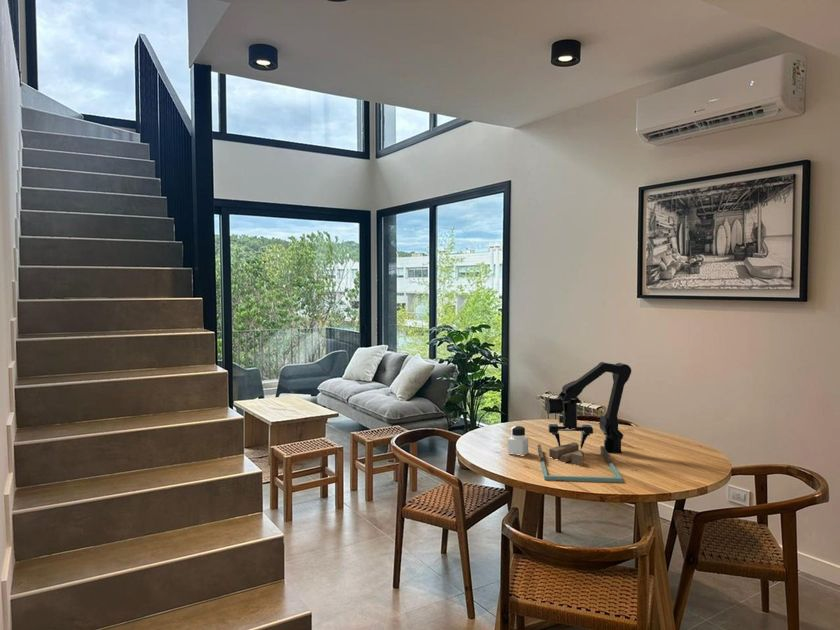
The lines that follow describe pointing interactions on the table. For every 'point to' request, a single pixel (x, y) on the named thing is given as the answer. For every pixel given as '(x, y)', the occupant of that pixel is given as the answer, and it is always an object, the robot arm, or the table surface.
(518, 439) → the medicine bottle
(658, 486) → the table surface
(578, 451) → the wooden block set
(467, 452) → the table surface
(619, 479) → the frame
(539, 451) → the pair of brown bars
